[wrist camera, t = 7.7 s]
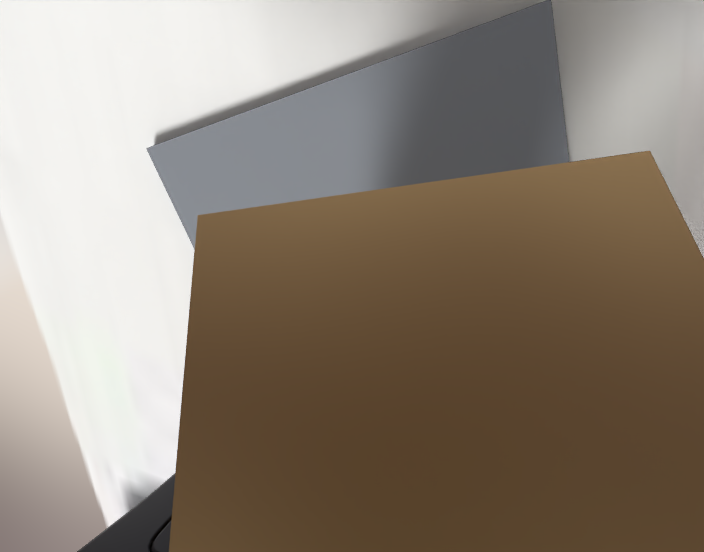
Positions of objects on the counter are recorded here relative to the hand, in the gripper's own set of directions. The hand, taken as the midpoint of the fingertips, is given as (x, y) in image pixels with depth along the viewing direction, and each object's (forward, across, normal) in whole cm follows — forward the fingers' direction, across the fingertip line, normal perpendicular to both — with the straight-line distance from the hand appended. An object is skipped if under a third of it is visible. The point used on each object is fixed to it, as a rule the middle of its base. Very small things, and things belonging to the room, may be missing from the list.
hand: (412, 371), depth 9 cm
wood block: (+5, 0, +6) cm, 7 cm away
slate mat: (+8, 0, 0) cm, 8 cm away
